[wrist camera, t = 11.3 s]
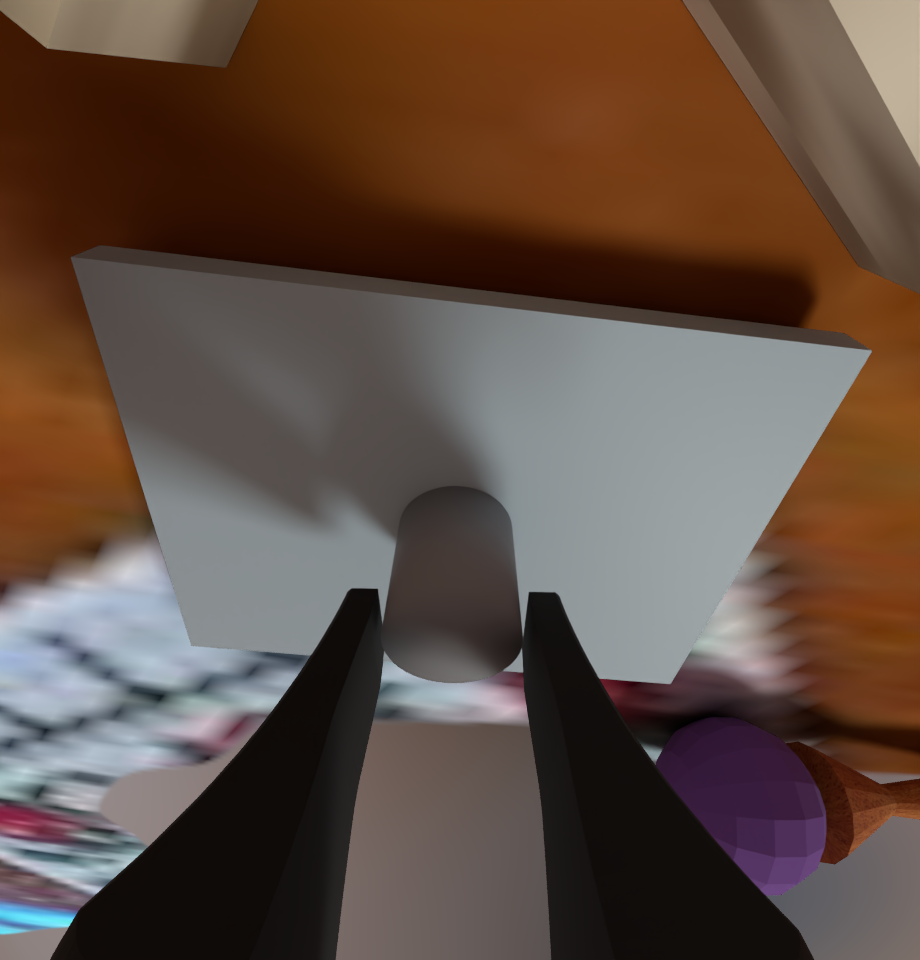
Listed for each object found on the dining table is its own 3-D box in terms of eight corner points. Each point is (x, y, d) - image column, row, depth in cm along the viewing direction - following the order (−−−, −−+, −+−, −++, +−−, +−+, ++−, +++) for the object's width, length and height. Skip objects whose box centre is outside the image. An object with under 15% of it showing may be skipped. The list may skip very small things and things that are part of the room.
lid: (819, 317, 12) (1015, 439, 8) (653, 635, 19) (707, 794, 15) (126, 234, 12) (-89, 320, 7) (215, 598, 19) (135, 755, 14)
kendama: (1076, 892, 23) (653, 903, 21) (982, 746, 27) (618, 740, 25) (1243, 877, 19) (734, 889, 16) (1102, 706, 23) (675, 693, 20)
